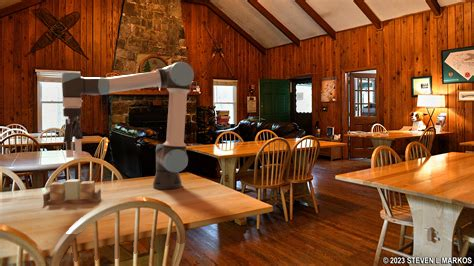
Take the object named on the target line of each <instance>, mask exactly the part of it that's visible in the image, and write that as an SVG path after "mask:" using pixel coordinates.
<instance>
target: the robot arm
mask: <svg viewBox="0 0 474 266" xmlns="http://www.w3.org/2000/svg"><path fill="white" fill-rule="evenodd" d="M194 77H195V72H194V69H193V67H192V66H191V65H190V64H189V63H187V62H185V61H176V62H174V63H173V64H170V65H168V66H165V67H162V68H157V69H155V71H148V72H141V73H133V74H127V75H125V74H124V75H118V76H111V77H83V76H82V74H81V73H80V72H76V71H75V72H74V71H65V72H63V73H61V88H62V89H61V90H62V107H63V109H62V112H63V113H62V114H63V117H65V128H64V137H63V143H65V148H66V149H65V154H66V158H74V154H82V153H83V152H82V151H83V150H82V140H83V139H84V136H83V133H82V132H83V131H82V127H81V118H80V117H82V116H83V109H82V103H83V100H82V95H90V96H99V95H103V96H104V95H109V94H112V93H119V92H125V91H133V90H139V89H145V88H155V87H158V88H166V90H167V91H168V94H169V95H168V111H167V112H168V113H167V124H166V126H167V127H166V140H165V142H164V143H159V144H156V147H155V176H154V179H153V182H152V187H153V189H156V190H175V189H179V188H182V182H183V181H182V179H181V176H180V173H179V172H182V171H183V170H185V168H186V167H187V166H188V164H189V163H188V162H189V157H188V153H187V144H186V143H185V142H184V141H185V128H186V127H185V126H186V114H187V102H188V101H187V99H188V94H189V93H190V92H191V86H192V83H193V81H194ZM66 117H67V118H66ZM73 138H74V142H73Z"/></svg>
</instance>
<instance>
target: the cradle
mask: <svg viewBox="0 0 474 266" xmlns="http://www.w3.org/2000/svg"><path fill="white" fill-rule="evenodd" d="M65 182H66V181H53V182H52V183H50V184H49V190H48V191H46V192H45V193H44V194H43V195H42V197H43V206H45V205H46V206H48V205H49V206H50V205H52V206H53V205H76V204H98V203H99V201H100V200H101V198H102V195H101V194H102V192H101V191H102V189H101V188H97V189H96V186H95V185H96V184H95V180H86V181H82V182H80V198H79V199H73V200H66V197H65Z"/></svg>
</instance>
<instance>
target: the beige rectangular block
mask: <svg viewBox="0 0 474 266" xmlns="http://www.w3.org/2000/svg"><path fill="white" fill-rule="evenodd" d="M64 182H65V197H66V200H73V199H79V198H80V183H81V179H79V178H78V179H67V180H65V181H64Z"/></svg>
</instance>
